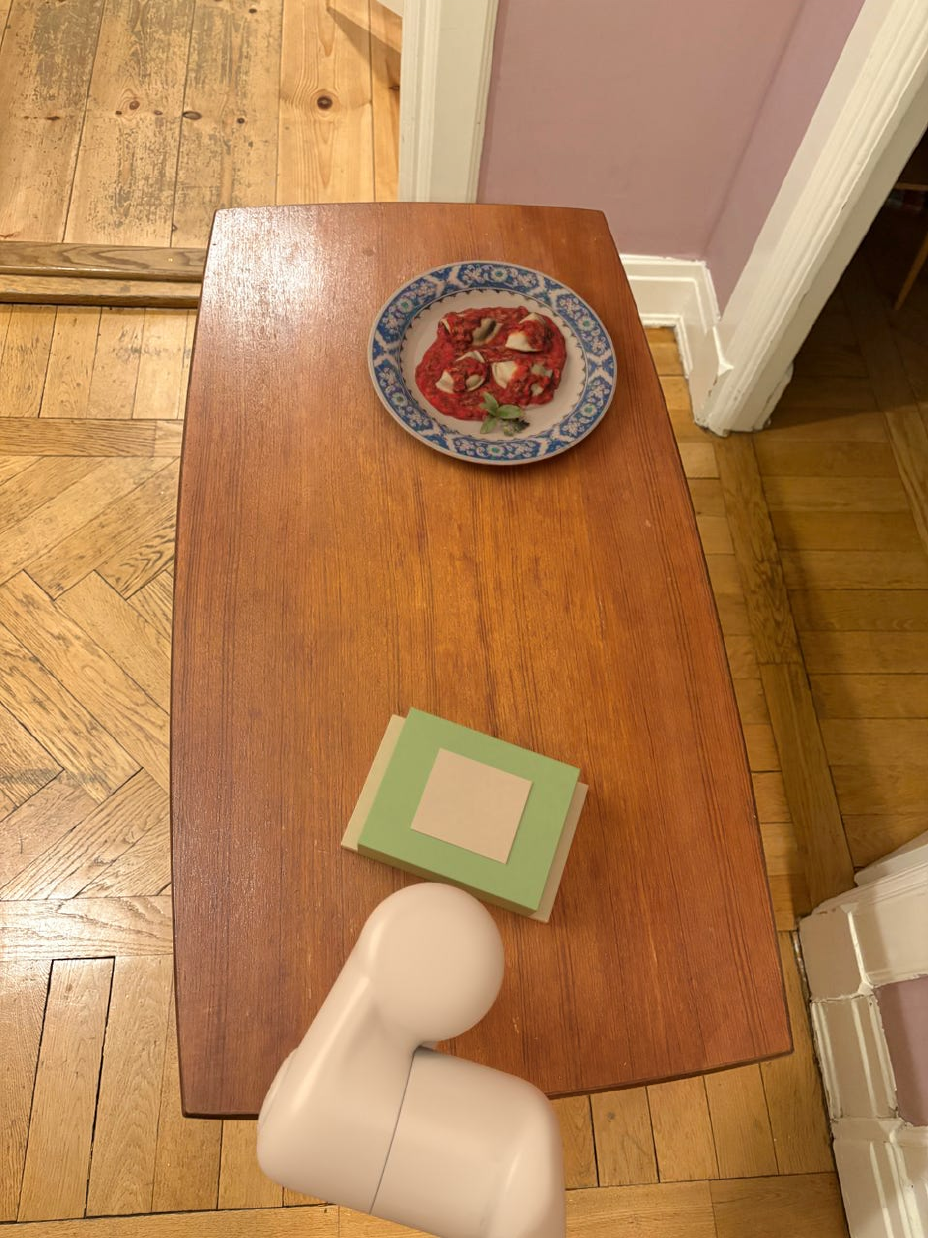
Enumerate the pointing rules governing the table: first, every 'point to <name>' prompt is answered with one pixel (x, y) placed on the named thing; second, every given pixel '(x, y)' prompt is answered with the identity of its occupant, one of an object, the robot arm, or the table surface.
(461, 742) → the green block with label
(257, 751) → the table surface
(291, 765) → the table surface
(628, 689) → the table surface
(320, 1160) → the robot arm
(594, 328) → the ceramic plate
